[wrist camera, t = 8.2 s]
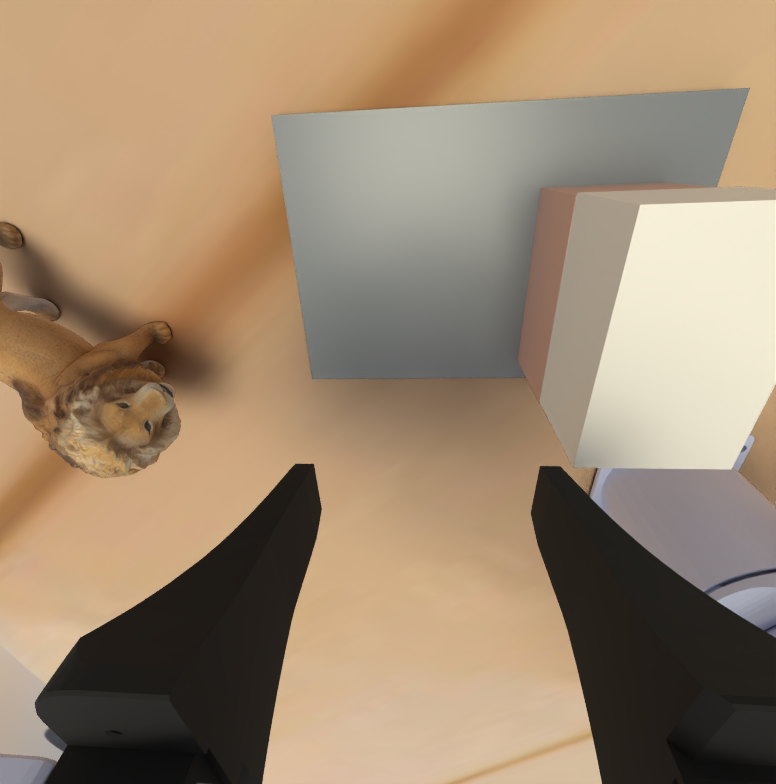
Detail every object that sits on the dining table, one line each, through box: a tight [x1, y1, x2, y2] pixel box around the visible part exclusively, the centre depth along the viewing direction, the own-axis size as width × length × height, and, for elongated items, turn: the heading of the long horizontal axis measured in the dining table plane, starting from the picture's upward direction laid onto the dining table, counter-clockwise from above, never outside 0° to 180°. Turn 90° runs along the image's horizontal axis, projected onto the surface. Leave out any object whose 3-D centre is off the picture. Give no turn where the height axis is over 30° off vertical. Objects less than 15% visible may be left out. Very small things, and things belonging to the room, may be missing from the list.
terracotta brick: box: [518, 183, 713, 404], centre depth 17 cm, size 8×5×4 cm, turn 2°
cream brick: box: [540, 186, 776, 470], centre depth 13 cm, size 8×5×4 cm, turn 2°
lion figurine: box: [0, 222, 181, 478], centre depth 18 cm, size 15×5×9 cm, turn 60°
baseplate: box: [271, 88, 750, 379], centre depth 19 cm, size 12×18×1 cm, turn 92°
